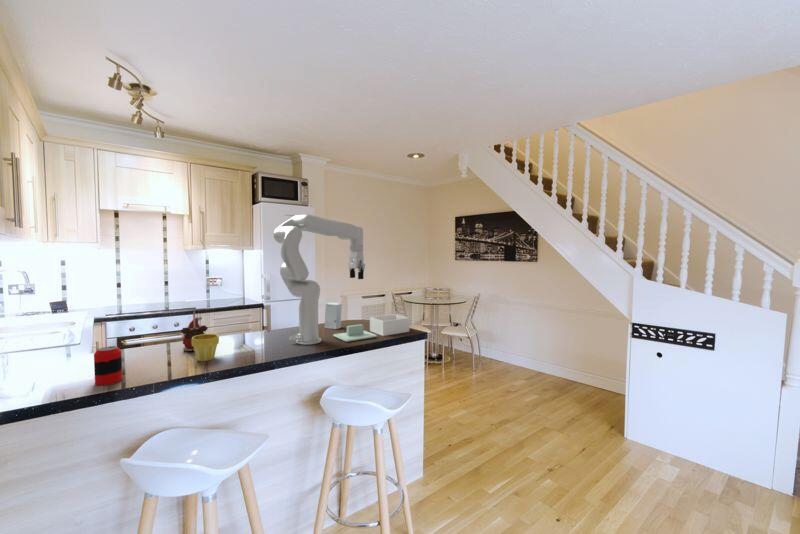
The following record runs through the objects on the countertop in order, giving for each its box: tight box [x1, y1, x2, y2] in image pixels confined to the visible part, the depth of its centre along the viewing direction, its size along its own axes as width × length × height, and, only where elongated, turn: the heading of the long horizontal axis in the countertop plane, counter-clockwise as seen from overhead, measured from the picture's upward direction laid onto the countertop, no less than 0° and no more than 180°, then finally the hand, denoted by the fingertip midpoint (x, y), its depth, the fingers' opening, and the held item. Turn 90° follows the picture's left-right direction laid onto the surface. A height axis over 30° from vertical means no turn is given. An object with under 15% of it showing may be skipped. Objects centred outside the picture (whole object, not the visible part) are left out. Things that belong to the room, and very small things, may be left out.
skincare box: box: [324, 302, 343, 330], centre depth 216 cm, size 8×6×15 cm
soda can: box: [93, 345, 123, 386], centre depth 128 cm, size 8×8×12 cm
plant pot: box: [192, 333, 220, 362], centre depth 155 cm, size 10×10×10 cm
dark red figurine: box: [180, 310, 208, 352], centre depth 169 cm, size 11×9×18 cm
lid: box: [332, 323, 378, 343], centre depth 194 cm, size 19×15×7 cm
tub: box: [369, 313, 410, 337], centre depth 209 cm, size 18×14×8 cm
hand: (356, 278), depth 208 cm, fingers open, 9 cm apart
